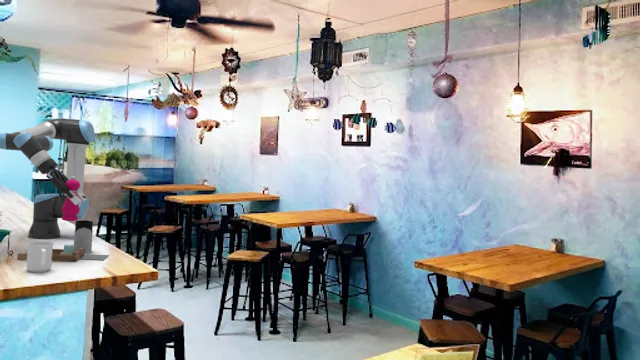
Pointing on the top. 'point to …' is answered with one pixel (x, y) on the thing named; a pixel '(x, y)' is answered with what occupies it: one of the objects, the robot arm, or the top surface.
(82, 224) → the glass holder
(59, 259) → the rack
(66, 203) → the pepper mill
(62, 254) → the stack bottom offcut
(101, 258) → the mat
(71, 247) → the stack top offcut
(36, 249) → the mug
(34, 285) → the top surface
